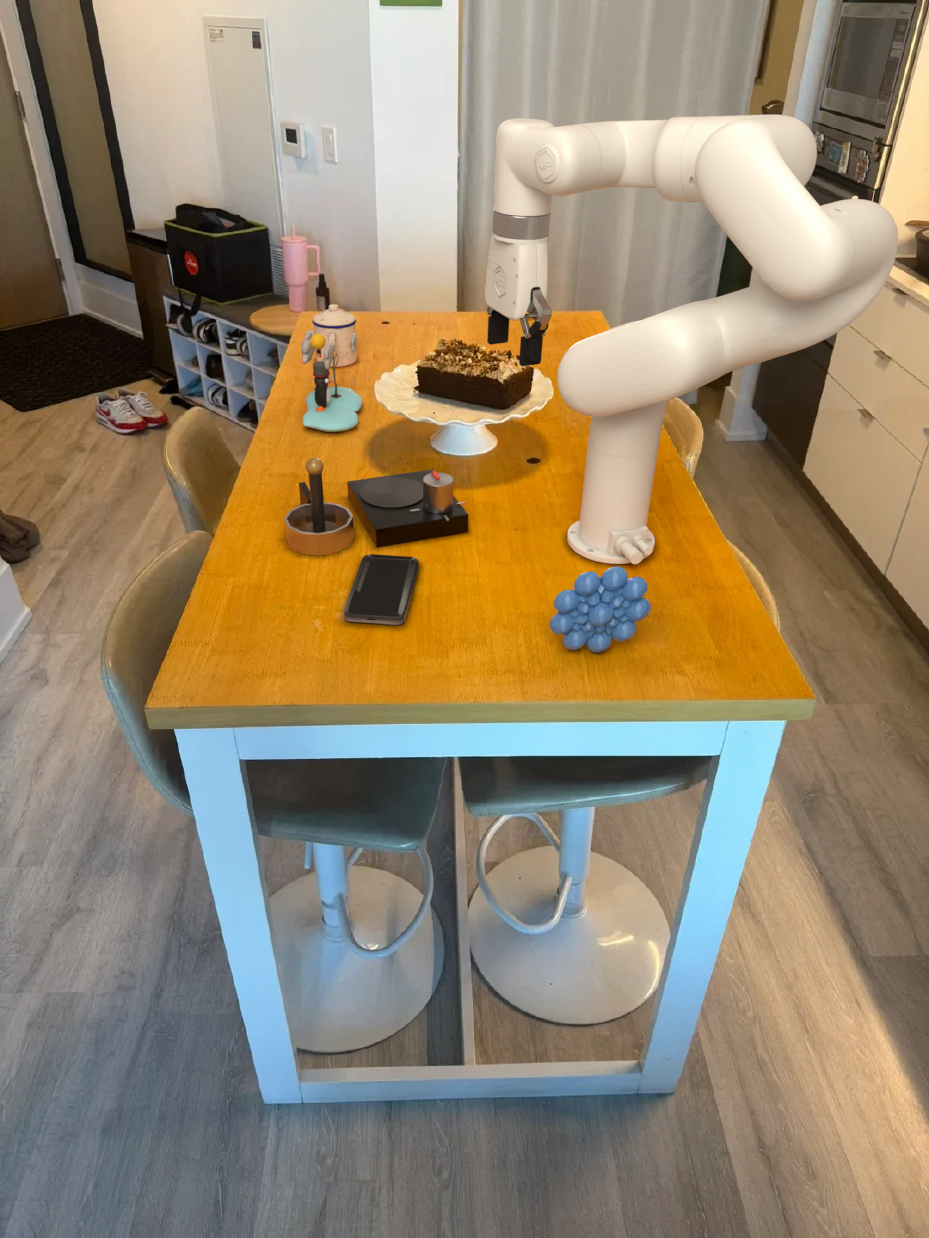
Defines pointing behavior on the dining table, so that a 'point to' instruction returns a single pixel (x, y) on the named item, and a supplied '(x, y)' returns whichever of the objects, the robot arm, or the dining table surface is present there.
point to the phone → (382, 590)
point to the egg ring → (325, 540)
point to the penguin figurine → (328, 390)
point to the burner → (391, 492)
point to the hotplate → (406, 516)
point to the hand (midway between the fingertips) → (513, 353)
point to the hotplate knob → (437, 493)
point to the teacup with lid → (336, 334)
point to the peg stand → (317, 499)
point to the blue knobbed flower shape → (600, 609)
